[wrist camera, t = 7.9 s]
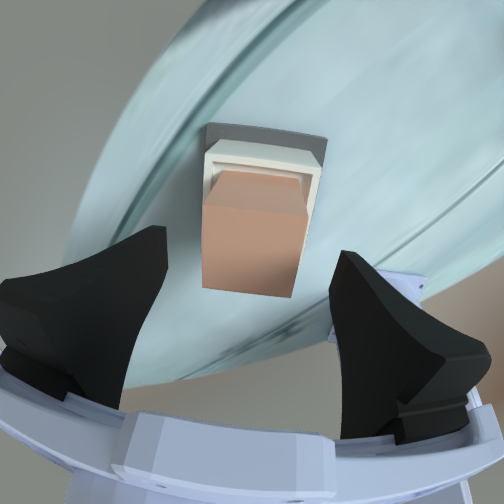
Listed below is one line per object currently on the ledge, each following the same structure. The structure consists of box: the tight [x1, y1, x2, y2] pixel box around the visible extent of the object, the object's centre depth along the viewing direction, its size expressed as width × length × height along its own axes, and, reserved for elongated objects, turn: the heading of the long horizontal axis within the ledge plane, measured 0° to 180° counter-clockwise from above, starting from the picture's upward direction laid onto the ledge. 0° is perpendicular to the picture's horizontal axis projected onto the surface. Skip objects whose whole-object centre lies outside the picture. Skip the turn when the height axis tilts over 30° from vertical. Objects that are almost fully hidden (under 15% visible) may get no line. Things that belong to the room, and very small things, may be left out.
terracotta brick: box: [202, 170, 309, 298], centre depth 14 cm, size 4×4×5 cm
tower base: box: [201, 122, 328, 265], centre depth 18 cm, size 8×8×6 cm
